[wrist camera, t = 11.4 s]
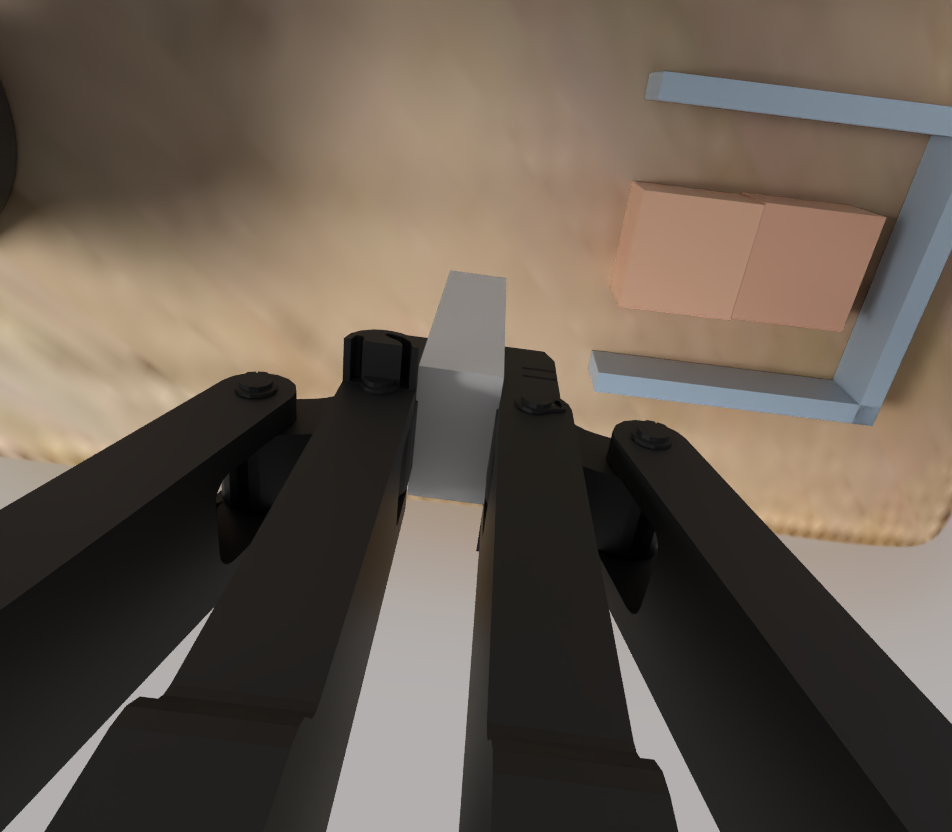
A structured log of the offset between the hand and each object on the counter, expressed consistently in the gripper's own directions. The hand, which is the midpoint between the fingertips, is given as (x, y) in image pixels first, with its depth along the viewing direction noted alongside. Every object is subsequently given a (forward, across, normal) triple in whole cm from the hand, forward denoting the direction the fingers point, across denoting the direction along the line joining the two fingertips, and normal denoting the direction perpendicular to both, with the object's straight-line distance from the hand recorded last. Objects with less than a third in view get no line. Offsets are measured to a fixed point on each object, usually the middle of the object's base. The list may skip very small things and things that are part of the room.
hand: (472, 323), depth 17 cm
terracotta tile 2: (+21, +16, -1) cm, 27 cm away
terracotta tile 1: (+21, +10, -1) cm, 23 cm away
